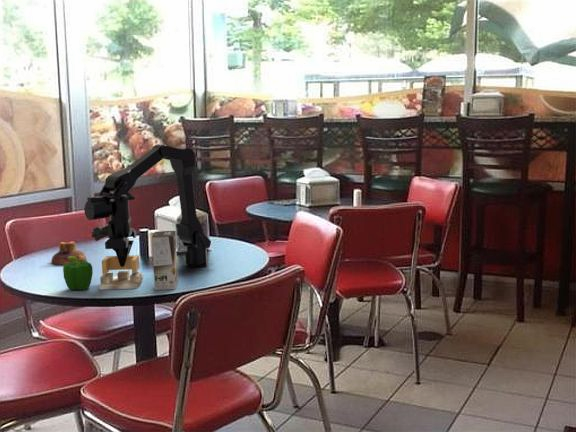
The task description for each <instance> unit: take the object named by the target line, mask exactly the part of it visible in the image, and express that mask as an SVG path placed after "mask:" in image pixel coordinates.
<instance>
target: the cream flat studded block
mask: <svg viewBox="0 0 576 432" xmlns="http://www.w3.org/2000/svg"><path fill="white" fill-rule="evenodd" d="M142 273H143V272H142V271H137V272H136V273H132V272H131V274H130V270H118V272H117V273H116V274H117V275H114V272H108V273H107V274H102V275H101V276H100V278H99V280H100V282H99V283H100V285H99V290H124V289H125V290H127V289H132V290H133V289H138V288H139V287H140V286H141V284H142V282H143V280H144V274H142Z"/></svg>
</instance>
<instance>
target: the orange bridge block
mask: <svg viewBox="0 0 576 432" xmlns="http://www.w3.org/2000/svg"><path fill="white" fill-rule="evenodd" d="M140 267H141V266H140V255H139V254H135V255H134V254H132V255H131V254H129V255H127V259H126V262H125V265H124V267H121V266H120V264H119V261H118V258H117V255H106V256H105V257H104V258H103V259H102V260H101V270H102V271H101V273H102V275H103V274H107V273H110V271H129V270H131V274H132V273H136V272H139V269H140Z"/></svg>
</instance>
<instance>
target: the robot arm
mask: <svg viewBox="0 0 576 432" xmlns="http://www.w3.org/2000/svg"><path fill="white" fill-rule="evenodd" d="M163 159H165V160H168V161H170V162H169V163H170V166H171V168H172V171H173V172H174V173H175V176H176V179H177V187H178V197H179V205H180V206H179V207H180V212H181V213H180V215H181V219H180V221H179V223H176V225H175V226H176V231H177V233H176V237H177V236H178V238H179V240H180V241H181V242H182V244H183V247H186V251H185V252H184V253H185V264H186V267H189V268H191V267H193V268H194V267H207V266H208V253H207V252H208V251H207V249H208V248H210V247H211V243H212V241H211V240H210V239H209V237H208V236H206V235H205V231H204V228H203V225H202V223H201V221H200V219H199V218H198V216H197V208H196V207H197V206H196V200H195V191H194V190H195V189H194V181H193V173H194V170H195V168H196V152H195V151H194V150H193V149H192V148H189V147H176V146H175V147H173V146H169V145H167V144H160V143H159V144H155V145H154V146H152V148H151V149H150V150H149V149H148V151H146V152H145V153H144V154H143V155H141V156H140V157H138V159H136V160H135V161H134V162H132V163H131V164H130V165H129V166H127V167H125V168H122V169H120V170H117V171H115V172H113V173H110V174H108V175H107V176H106V178H105V180H104V181H105V182H104V185H103V187H102V188H101V190H100V192H99V194H98V196H89V197H86V199H87V201H86V202H85V204H84V209H83V211H84V215H85V217H86V219H87V220H88V221H95V220H102V219H107V218H109V217H110V219H109V220H108V222H107V224H104V225H102V226H99V225H98V226H96V227H94V228H93V229H92V231H91V237H92V238H93V239H94V241H95V242H97V241H100V240H101V239H104V238H107V237H108V239H107V240H105V242H104V247H105V248H104V249H105V250H112V251H114V252H115V254H116V255H115V256H117V258H118V261H119V264H120V266H121V267H124V265H125V262H126V259H127V255H130V253H131V251H132V250H131V249H132V247H133V244H134V240H130V238H131V237H132V238H133V239H135V238H137V230H136V229H135V228H134V227H131V221H132V218H131V216H130V202H129V201H134V200H136V198H135V196H133V195H132V194H131V193H130V191H131V190H132V188H134V186H135V185H136V183H137V181H138V179H140V178H141V176H143V175H144V174H145V173H147V172H148V171H150V170H151V168H153V167H154V166H156V165H157V164H158V163H160V161H162V160H163ZM129 237H130V238H129Z"/></svg>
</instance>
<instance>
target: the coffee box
mask: <svg viewBox="0 0 576 432" xmlns="http://www.w3.org/2000/svg"><path fill="white" fill-rule="evenodd" d="M176 231H177V230H161V231H154V233H153V234H152V236H151V242H152V243H151V244H152V263H153V264H152V265H153V268H152V269H153V282H154V283H153V285H154V290H155V291H163V290H164V291H165V290H175V289H176V288H177V286H178V283H179V279H178V277H179V276H178V275H179V274H178V257H177V255H178V254H177V233H176Z"/></svg>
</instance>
